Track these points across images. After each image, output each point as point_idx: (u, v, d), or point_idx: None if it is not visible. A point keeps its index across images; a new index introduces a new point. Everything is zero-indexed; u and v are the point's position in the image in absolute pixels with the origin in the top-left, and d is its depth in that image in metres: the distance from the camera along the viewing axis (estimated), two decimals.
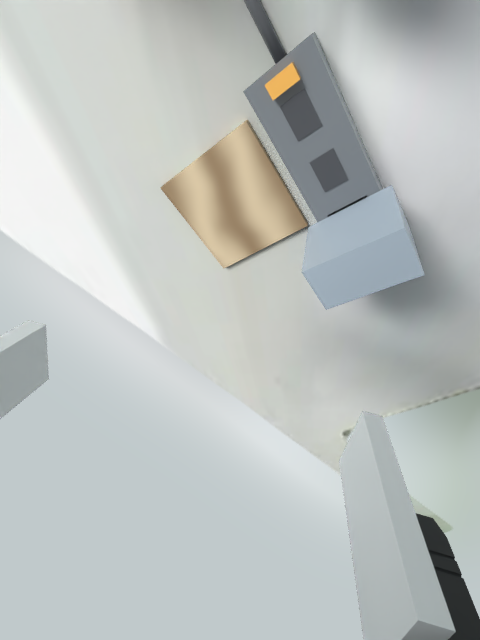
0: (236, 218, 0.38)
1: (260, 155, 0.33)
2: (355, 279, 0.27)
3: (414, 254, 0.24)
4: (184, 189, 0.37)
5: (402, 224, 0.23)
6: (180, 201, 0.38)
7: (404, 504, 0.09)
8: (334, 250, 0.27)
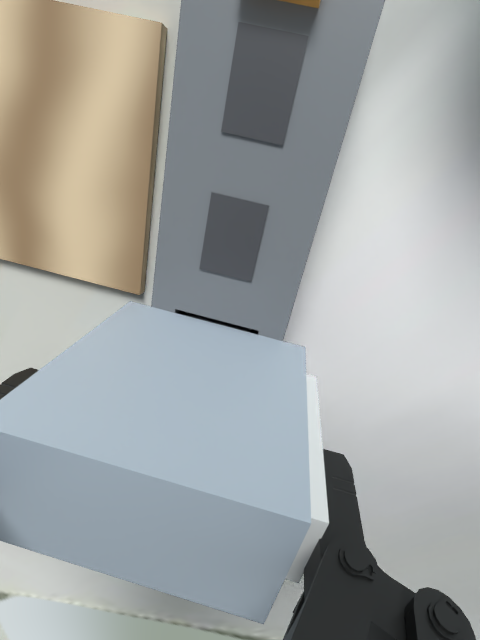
0: (26, 179, 0.17)
1: (142, 111, 0.15)
2: (108, 534, 0.09)
3: (279, 582, 0.08)
4: None
5: (307, 499, 0.08)
6: None
7: (315, 439, 0.11)
8: (110, 422, 0.08)
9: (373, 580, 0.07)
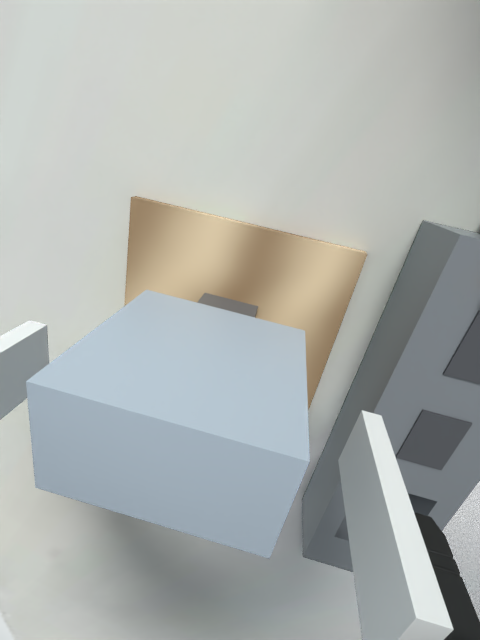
0: None
1: (334, 311, 0.17)
2: (137, 479, 0.10)
3: (283, 517, 0.10)
4: (173, 239, 0.17)
5: (306, 445, 0.09)
6: (146, 247, 0.18)
7: (403, 503, 0.09)
8: (140, 384, 0.10)
9: None
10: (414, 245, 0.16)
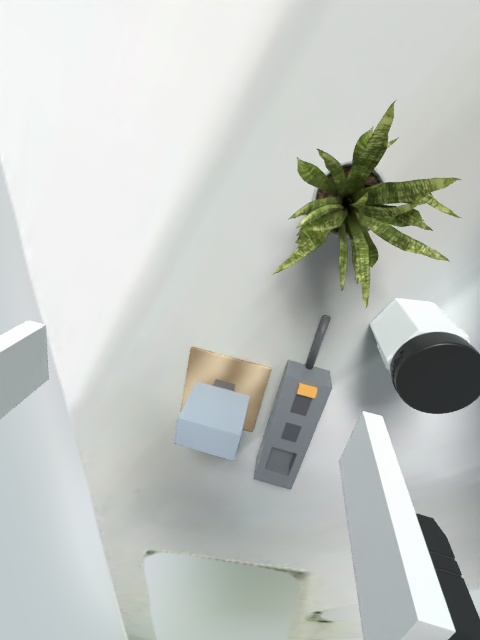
0: None
1: (261, 387, 0.49)
2: (201, 440, 0.42)
3: (236, 449, 0.41)
4: (205, 362, 0.49)
5: (241, 432, 0.41)
6: (194, 363, 0.49)
7: (405, 504, 0.09)
8: (202, 417, 0.42)
9: None
10: (286, 367, 0.47)
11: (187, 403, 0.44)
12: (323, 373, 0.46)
